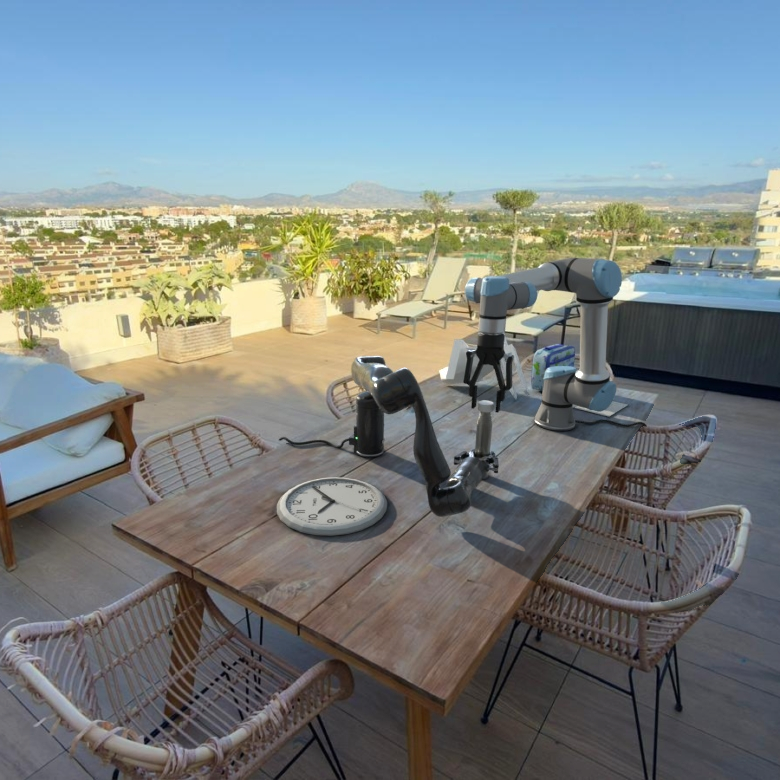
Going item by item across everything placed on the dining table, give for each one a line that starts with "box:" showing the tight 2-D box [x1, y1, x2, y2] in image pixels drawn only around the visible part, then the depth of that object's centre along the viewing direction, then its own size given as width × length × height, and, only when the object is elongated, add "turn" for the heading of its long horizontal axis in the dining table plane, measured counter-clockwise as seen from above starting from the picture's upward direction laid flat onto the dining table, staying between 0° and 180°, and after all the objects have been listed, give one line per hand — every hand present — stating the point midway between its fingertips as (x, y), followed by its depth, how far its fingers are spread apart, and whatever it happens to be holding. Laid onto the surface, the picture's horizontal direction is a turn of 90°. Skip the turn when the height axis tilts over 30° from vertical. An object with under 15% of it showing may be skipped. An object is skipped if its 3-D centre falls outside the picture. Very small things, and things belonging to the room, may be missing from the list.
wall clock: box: [276, 476, 388, 537], centre depth 142 cm, size 30×2×30 cm
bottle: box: [474, 411, 493, 480], centre depth 158 cm, size 4×4×23 cm
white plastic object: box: [438, 332, 531, 400], centre depth 245 cm, size 37×45×31 cm
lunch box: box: [530, 343, 576, 392], centre depth 248 cm, size 26×11×21 cm, turn 134°
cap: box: [477, 399, 495, 413], centre depth 155 cm, size 4×4×2 cm
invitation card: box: [573, 400, 629, 418], centre depth 226 cm, size 21×1×15 cm
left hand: (484, 452), depth 162 cm, fingers closed on bottle, 4 cm apart
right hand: (485, 409), depth 155 cm, fingers open, 7 cm apart
